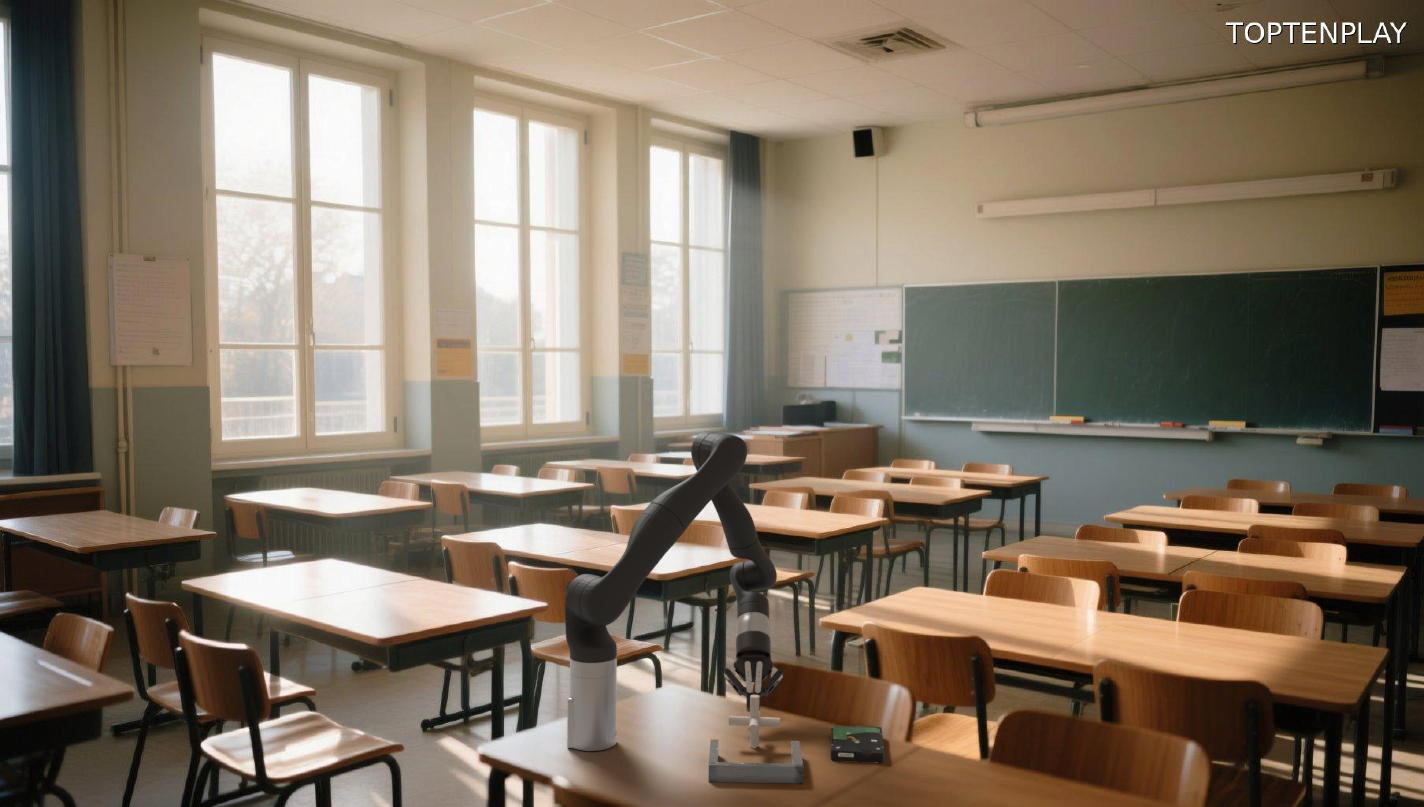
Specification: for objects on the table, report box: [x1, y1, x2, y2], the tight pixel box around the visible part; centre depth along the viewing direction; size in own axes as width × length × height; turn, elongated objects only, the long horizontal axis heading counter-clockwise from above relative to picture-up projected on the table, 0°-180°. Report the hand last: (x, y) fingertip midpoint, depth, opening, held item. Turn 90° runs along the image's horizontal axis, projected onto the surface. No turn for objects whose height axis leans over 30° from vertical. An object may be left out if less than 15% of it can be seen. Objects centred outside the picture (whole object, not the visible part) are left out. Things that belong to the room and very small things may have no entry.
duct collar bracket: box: [707, 739, 805, 784], centre depth 188 cm, size 17×14×3 cm
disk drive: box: [830, 724, 886, 764], centre depth 199 cm, size 10×3×15 cm
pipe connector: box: [728, 694, 781, 748], centre depth 200 cm, size 10×10×10 cm
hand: (753, 712), depth 207 cm, fingers closed
